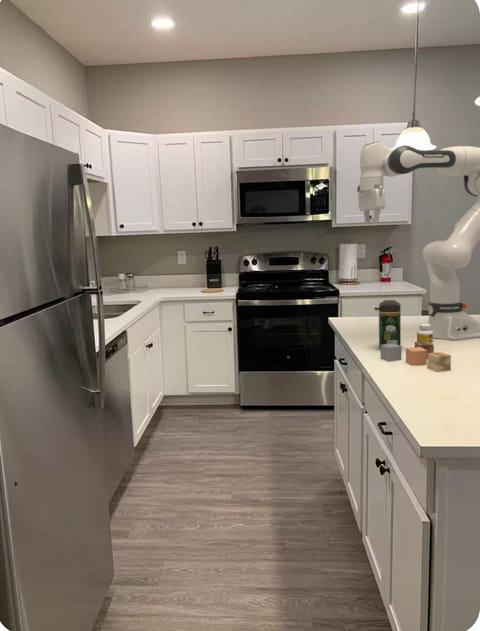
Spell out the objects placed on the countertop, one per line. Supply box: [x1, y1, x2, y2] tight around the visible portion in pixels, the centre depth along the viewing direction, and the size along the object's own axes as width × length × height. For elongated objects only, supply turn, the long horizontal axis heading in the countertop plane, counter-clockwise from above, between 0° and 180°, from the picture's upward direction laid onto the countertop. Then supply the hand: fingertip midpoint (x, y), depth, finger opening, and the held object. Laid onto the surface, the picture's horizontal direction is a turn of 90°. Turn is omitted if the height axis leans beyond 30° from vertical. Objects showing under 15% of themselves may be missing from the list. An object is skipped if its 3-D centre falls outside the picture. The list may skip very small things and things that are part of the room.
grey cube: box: [380, 343, 402, 362], centre depth 171 cm, size 5×5×5 cm
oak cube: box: [426, 351, 452, 373], centre depth 157 cm, size 5×5×5 cm
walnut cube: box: [414, 341, 435, 358], centre depth 171 cm, size 5×5×5 cm
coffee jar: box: [378, 299, 402, 350], centre depth 184 cm, size 10×8×19 cm
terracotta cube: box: [405, 346, 427, 367], centre depth 164 cm, size 5×5×5 cm
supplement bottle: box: [416, 323, 434, 344], centre depth 179 cm, size 5×5×10 cm
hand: (371, 222), depth 191 cm, fingers open, 8 cm apart
